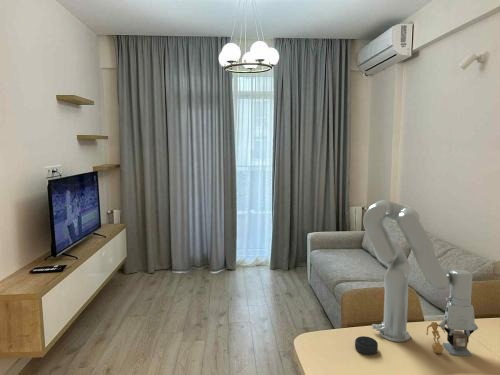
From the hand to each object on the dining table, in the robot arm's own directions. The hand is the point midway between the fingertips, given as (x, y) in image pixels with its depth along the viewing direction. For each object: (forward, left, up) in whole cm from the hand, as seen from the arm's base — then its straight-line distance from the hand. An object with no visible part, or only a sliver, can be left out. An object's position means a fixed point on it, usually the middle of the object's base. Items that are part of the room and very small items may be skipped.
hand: (457, 343), depth 152 cm
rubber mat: (0, 0, -3) cm, 3 cm away
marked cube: (0, 0, -1) cm, 1 cm away
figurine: (-9, -2, -3) cm, 10 cm away
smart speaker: (-37, -4, -3) cm, 37 cm away
